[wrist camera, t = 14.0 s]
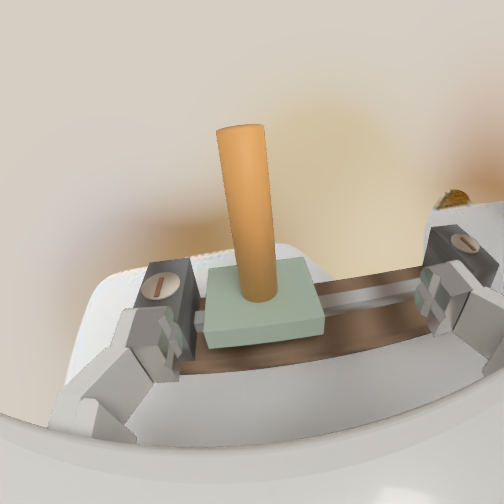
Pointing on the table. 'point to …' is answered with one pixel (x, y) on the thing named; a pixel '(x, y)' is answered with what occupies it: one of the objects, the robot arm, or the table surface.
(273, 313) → the slider with orange handle
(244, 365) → the rail
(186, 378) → the table surface
